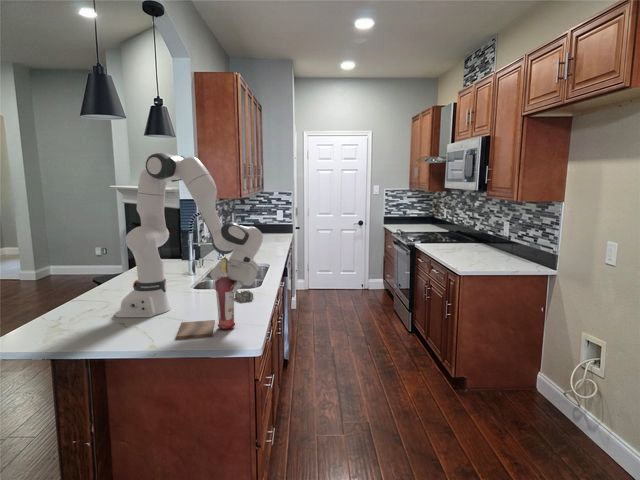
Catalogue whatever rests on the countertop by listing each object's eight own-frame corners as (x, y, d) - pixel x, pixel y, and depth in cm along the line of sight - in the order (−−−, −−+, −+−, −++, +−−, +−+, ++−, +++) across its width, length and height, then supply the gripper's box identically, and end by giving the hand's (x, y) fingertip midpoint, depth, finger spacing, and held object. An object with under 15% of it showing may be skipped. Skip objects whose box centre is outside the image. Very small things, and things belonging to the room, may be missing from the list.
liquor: (231, 332, 152) (228, 261, 148) (213, 330, 153) (210, 260, 149) (238, 325, 159) (236, 257, 155) (222, 324, 160) (219, 256, 156)
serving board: (176, 339, 145) (175, 336, 145) (181, 325, 159) (181, 322, 159) (212, 336, 147) (212, 333, 147) (214, 322, 162) (214, 320, 162)
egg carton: (233, 297, 198) (233, 289, 198) (247, 295, 202) (247, 287, 202) (240, 303, 189) (240, 294, 189) (255, 300, 193) (254, 292, 192)
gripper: (216, 255, 163) (200, 283, 156) (255, 259, 153) (239, 290, 146) (224, 263, 168) (209, 291, 161) (263, 268, 158) (248, 298, 151)
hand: (224, 290), depth 153 cm, fingers closed on liquor, 7 cm apart
